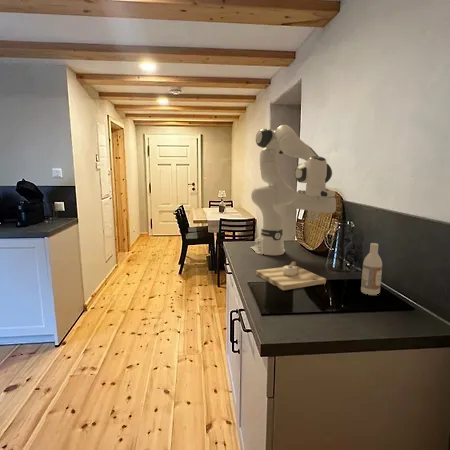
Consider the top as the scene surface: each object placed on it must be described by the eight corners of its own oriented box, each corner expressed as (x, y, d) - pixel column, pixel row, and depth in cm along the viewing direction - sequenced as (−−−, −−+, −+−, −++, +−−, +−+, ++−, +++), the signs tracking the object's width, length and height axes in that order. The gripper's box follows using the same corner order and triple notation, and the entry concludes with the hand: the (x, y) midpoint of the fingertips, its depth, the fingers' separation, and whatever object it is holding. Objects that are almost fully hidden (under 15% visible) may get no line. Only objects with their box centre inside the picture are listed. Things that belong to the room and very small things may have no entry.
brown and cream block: (295, 276, 143) (295, 268, 142) (281, 274, 145) (282, 267, 144) (300, 268, 155) (300, 261, 154) (287, 267, 157) (287, 259, 156)
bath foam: (373, 297, 127) (377, 246, 123) (357, 291, 132) (361, 243, 129) (383, 293, 130) (388, 244, 127) (367, 288, 136) (371, 241, 133)
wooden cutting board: (256, 274, 152) (256, 270, 152) (295, 269, 161) (295, 264, 161) (283, 290, 133) (283, 285, 132) (325, 283, 142) (326, 278, 141)
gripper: (292, 190, 159) (290, 218, 162) (333, 193, 146) (330, 224, 149) (299, 189, 164) (297, 216, 167) (338, 192, 150) (336, 222, 153)
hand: (313, 220), depth 157 cm, fingers closed
